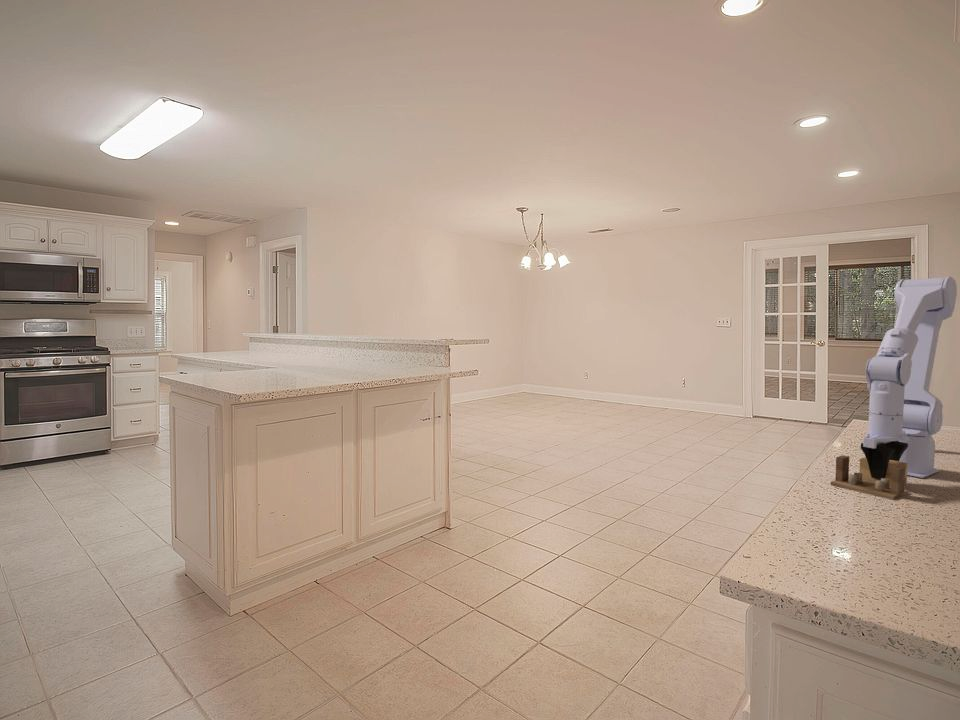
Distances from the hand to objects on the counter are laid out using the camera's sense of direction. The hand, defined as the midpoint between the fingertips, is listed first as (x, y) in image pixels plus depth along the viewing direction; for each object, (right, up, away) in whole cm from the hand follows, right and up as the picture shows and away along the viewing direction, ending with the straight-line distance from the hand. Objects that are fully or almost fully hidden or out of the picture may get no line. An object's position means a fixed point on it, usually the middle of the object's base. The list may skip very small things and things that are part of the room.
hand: (882, 476), depth 111 cm
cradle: (-6, -2, -3) cm, 7 cm away
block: (0, -2, 0) cm, 2 cm away
